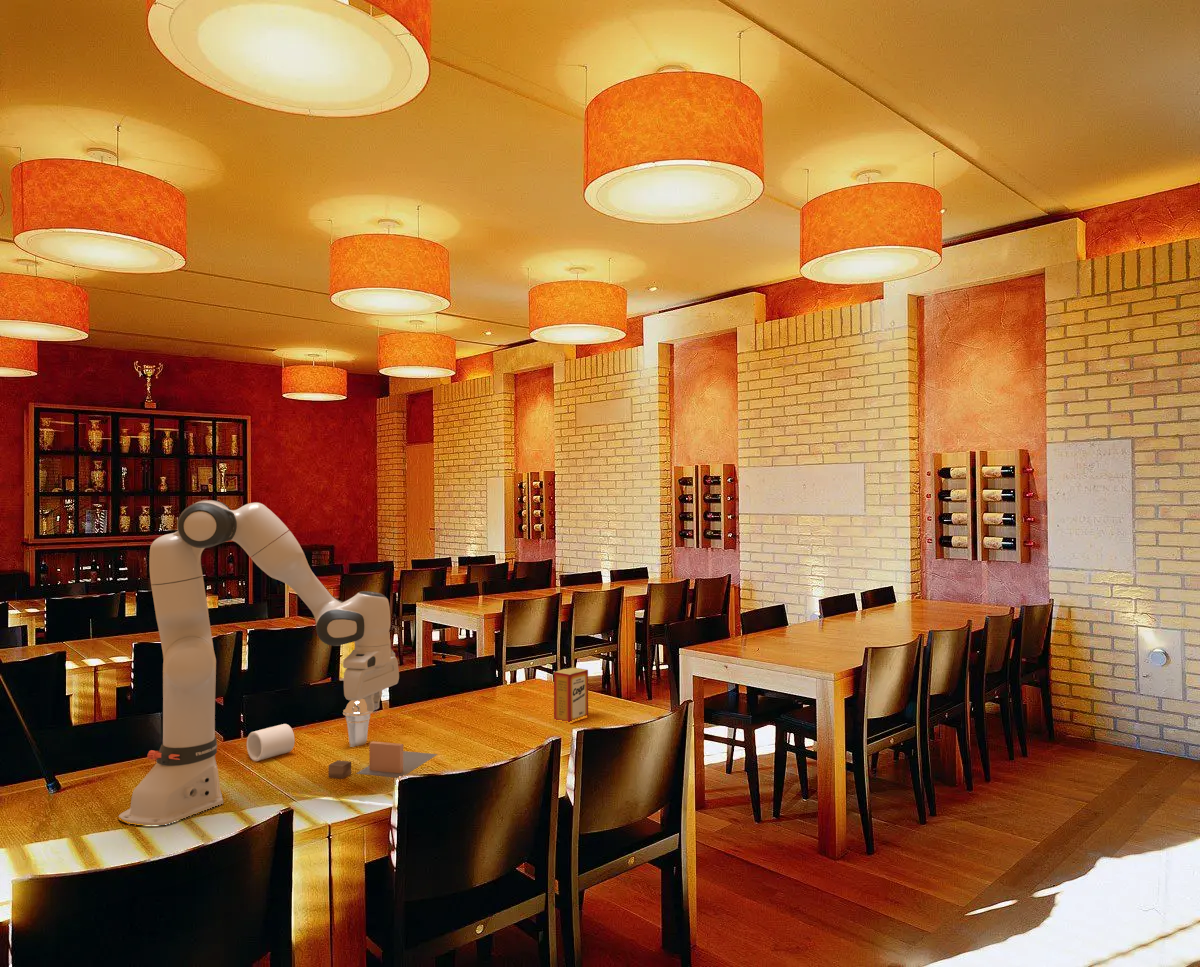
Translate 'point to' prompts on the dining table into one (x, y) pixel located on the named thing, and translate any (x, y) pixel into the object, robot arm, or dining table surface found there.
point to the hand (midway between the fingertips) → (373, 709)
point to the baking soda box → (570, 694)
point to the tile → (386, 757)
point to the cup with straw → (357, 721)
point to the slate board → (409, 763)
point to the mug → (270, 742)
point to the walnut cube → (339, 769)
